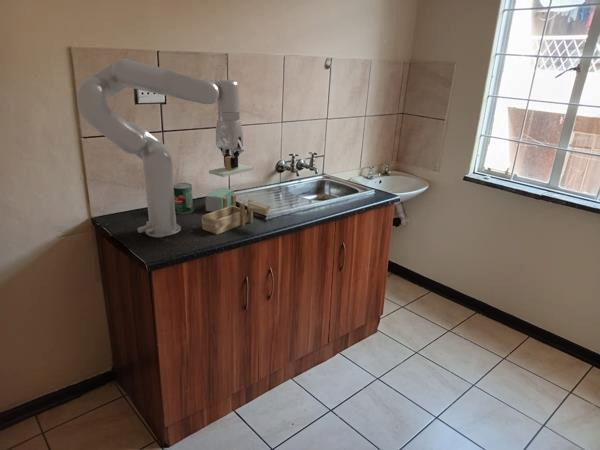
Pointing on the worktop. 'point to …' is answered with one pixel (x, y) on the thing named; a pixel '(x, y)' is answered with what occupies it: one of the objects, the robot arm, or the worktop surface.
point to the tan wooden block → (258, 208)
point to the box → (218, 199)
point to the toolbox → (227, 217)
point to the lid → (230, 169)
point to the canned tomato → (183, 198)
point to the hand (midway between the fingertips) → (231, 166)
